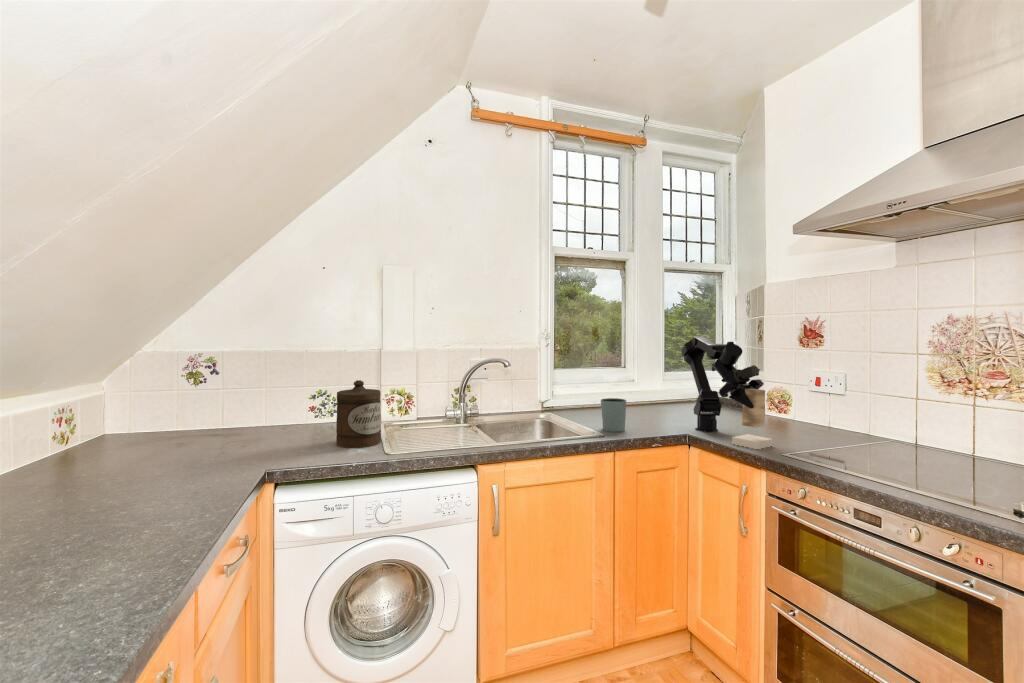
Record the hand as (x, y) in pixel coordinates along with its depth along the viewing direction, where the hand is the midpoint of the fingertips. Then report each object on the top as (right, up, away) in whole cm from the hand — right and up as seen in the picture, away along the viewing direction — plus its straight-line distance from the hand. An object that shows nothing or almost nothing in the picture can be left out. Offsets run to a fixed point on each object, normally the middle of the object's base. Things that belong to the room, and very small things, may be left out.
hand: (757, 407), depth 164 cm
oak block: (-1, -7, +1) cm, 7 cm away
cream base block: (-1, -14, +1) cm, 14 cm away
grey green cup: (-44, -13, +27) cm, 53 cm away
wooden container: (-138, -13, +3) cm, 139 cm away
